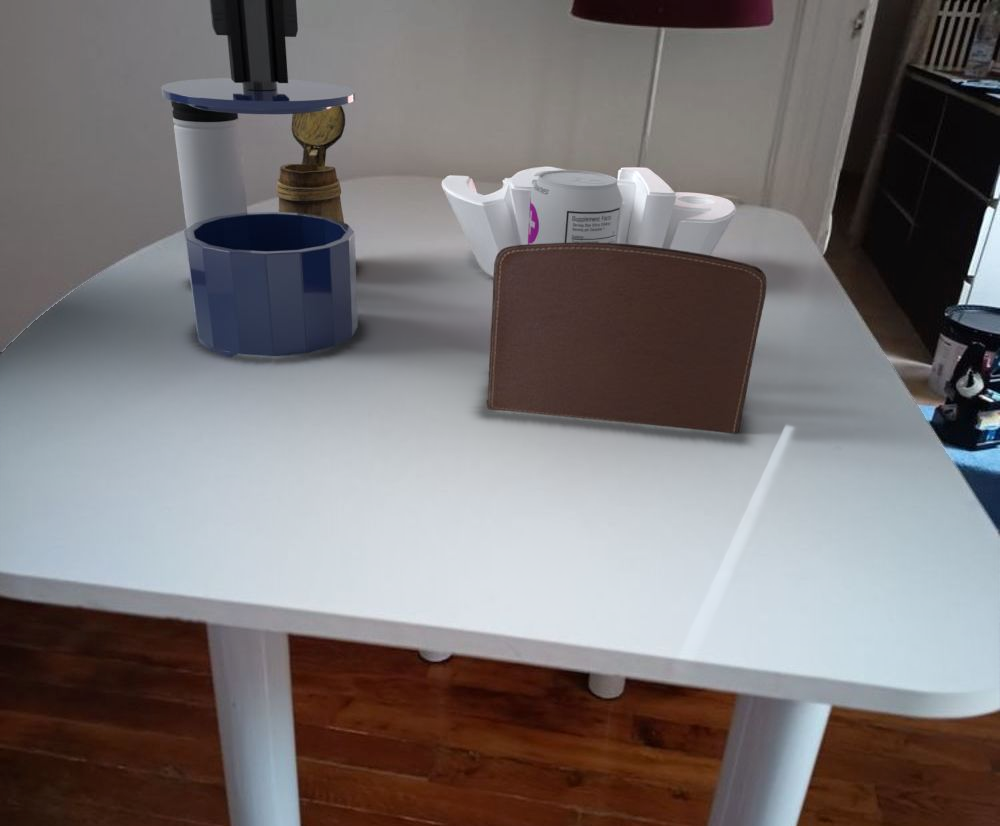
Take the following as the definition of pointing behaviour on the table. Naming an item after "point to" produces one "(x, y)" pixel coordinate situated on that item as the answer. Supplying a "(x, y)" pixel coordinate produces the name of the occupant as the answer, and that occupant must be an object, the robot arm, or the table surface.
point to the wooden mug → (313, 166)
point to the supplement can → (574, 208)
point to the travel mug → (209, 162)
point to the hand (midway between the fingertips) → (259, 80)
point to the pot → (272, 283)
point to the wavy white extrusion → (644, 218)
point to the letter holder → (623, 334)
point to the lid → (258, 77)
